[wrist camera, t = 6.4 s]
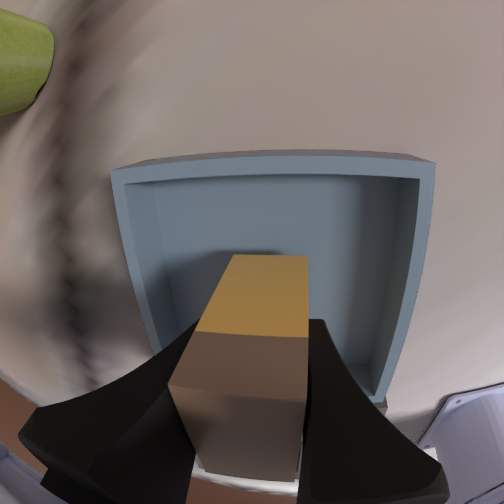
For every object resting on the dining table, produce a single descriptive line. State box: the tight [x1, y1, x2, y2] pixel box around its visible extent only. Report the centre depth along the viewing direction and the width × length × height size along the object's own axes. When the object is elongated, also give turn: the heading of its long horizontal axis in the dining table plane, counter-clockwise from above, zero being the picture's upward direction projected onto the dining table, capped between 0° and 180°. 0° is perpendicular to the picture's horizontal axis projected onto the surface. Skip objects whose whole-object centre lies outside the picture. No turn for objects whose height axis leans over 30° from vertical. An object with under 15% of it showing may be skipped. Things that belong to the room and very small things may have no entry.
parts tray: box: [110, 150, 436, 403], centre depth 13 cm, size 12×12×3 cm
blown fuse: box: [167, 255, 309, 482], centre depth 10 cm, size 3×5×7 cm, turn 3°
